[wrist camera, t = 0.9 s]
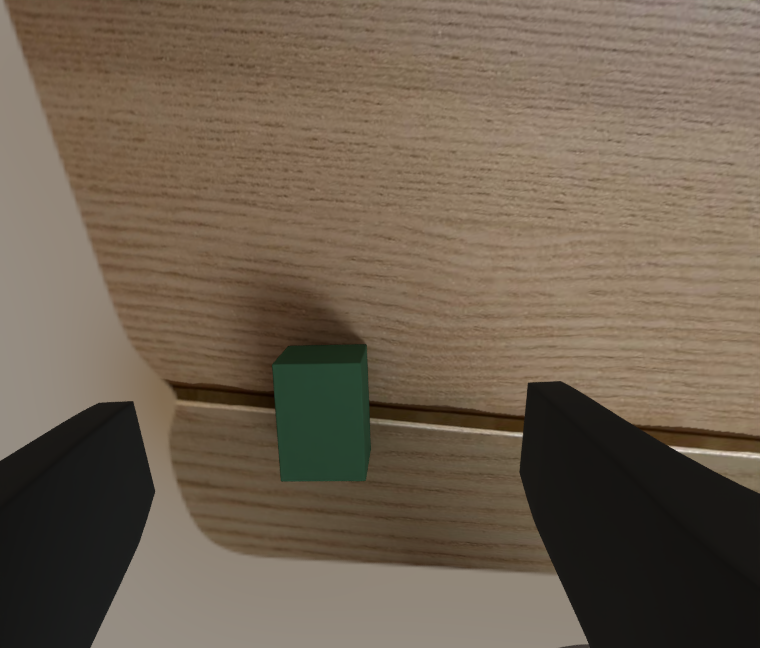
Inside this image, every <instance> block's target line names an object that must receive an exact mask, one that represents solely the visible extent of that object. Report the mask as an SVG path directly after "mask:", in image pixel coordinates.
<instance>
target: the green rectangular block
mask: <svg viewBox="0 0 760 648" xmlns="http://www.w3.org/2000/svg"><path fill="white" fill-rule="evenodd" d="M272 371H273V384H274V397H275V410H276V423H277V437H278V450H279V463H280V476H281V481H366V476H367V470H368V464H369V457H370V451H371V441H370V416H369V390H368V365H367V345H366V344H354V345H304V346H288V347H287V348H286V349H285V350H284V352H283V353H282V354H281V355H280V356H279V357H278V358H277V360H276V361H275V362H274V363H273V364H272Z"/></svg>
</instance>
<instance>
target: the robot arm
mask: <svg viewBox="0 0 760 648" xmlns="http://www.w3.org/2000/svg"><path fill="white" fill-rule="evenodd" d="M520 476H521V479H522V483H523V486H524V490H525V493H526V497H527V500H528V503H529V507H530V510H531V513H532V516H533V519H534V522H535V524H536V527H537V529H538V531H539V534H540V536H541V538H542V541H543V543H544V545H545V547H546V550H547V552H548V554H549V556H550V559H551V561H552V563H553V565H554V567H555V570H556V572H557V574H558V576H559V578H560V581H561V583H562V585H563V587H564V589H565V592H566V594H567V596H568V598H569V601H570V603H571V605H572V607H573V609H574V612H575V614H576V616H577V618H578V621H579V623H580V625H581V627H582V629H583V632H584V634H585V636H586V638H587V641H588V643H589V646H590V648H760V494H759V493H757V492H755V491H753V490H751V489H748V488H746V487H744V486H742V485H740V484H738V483H736V482H734V481H732V480H730V479H728V478H726V477H724V476H722V475H720V474H718V473H716V472H714V471H712V470H710V469H709V468H707V467H705V466H703V465H701V464H699V463H698V462H696V461H694V460H692V459H690V458H688V457H687V456H685V455H683V454H681V453H679V452H678V451H676V450H674V449H672V448H671V447H669V446H667V445H665V444H664V443H662V442H660V441H659V440H657V439H655V438H654V437H652V436H650V435H649V434H647V433H645V432H644V431H642V430H640V429H639V428H637V427H635V426H634V425H632V424H631V423H629V422H627V421H626V420H624V419H623V418H621V417H619V416H618V415H616V414H615V413H613V412H611V411H610V410H608V409H607V408H605V407H603V406H602V405H600V404H599V403H597V402H596V401H594V400H592V399H591V398H589V397H588V396H586V395H584V394H583V393H581V392H579V391H578V390H576V389H574V388H573V387H571V386H569V385H567V384H565V383H563V382H561V381H554V382H533V383H528V388H527V399H526V409H525V420H524V430H523V441H522V451H521V462H520ZM154 494H155V489H154V484H153V480H152V476H151V473H150V468H149V464H148V460H147V456H146V452H145V448H144V443H143V439H142V435H141V431H140V427H139V423H138V419H137V415H136V411H135V407H134V403H133V401H127V402H107V403H98V404H96V405H94V406H92V407H89V408H87V409H86V410H84V411H82V412H80V413H78V414H77V415H75V416H73V417H71V418H70V419H68V420H66V421H65V422H63V423H61V424H60V425H58V426H56V427H55V428H53V429H51V430H50V431H48V432H47V433H45V434H43V435H42V436H40V437H39V438H37V439H35V440H34V441H32V442H30V443H29V444H27V445H25V446H24V447H22V448H21V449H19V450H17V451H16V452H14V453H12V454H11V455H9V456H8V457H6V458H4V459H3V460H1V461H0V648H90V647H91V645H92V643H93V641H94V639H95V637H96V634H97V632H98V630H99V628H100V626H101V624H102V622H103V620H104V617H105V615H106V613H107V611H108V609H109V607H110V605H111V603H112V601H113V598H114V596H115V594H116V592H117V590H118V588H119V586H120V584H121V582H122V579H123V577H124V575H125V573H126V571H127V569H128V566H129V564H130V562H131V560H132V558H133V556H134V553H135V551H136V549H137V547H138V544H139V542H140V539H141V536H142V533H143V530H144V527H145V524H146V520H147V517H148V514H149V511H150V507H151V504H152V500H153V497H154Z"/></svg>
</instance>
